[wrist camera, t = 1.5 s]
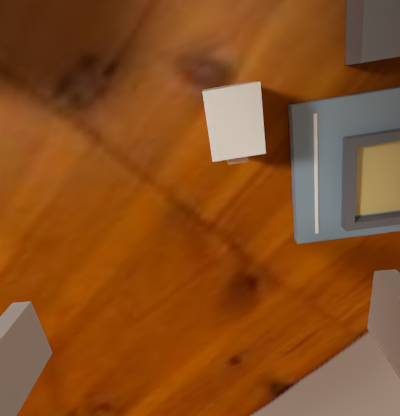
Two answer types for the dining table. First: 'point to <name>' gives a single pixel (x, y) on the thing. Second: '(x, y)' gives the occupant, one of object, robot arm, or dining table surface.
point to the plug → (235, 121)
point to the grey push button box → (372, 30)
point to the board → (346, 165)
